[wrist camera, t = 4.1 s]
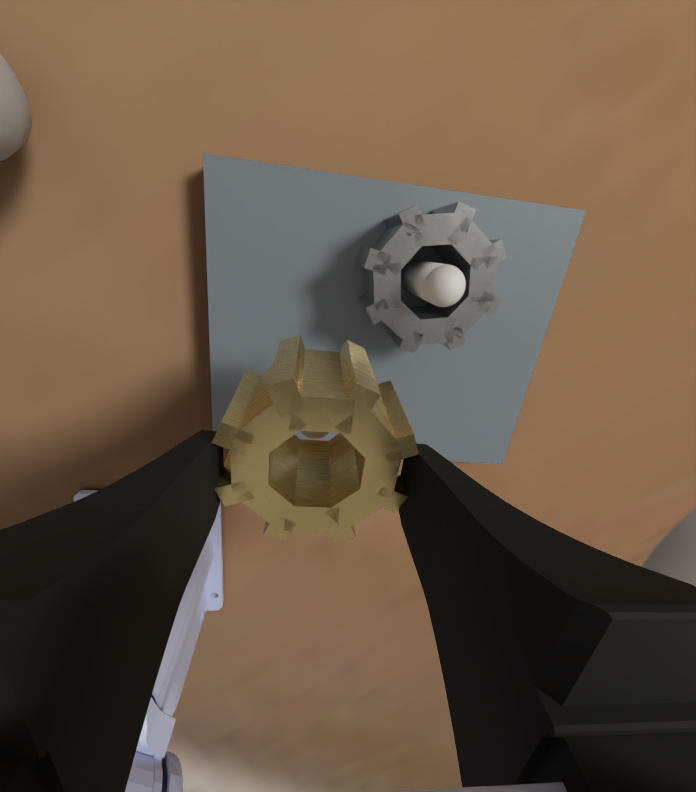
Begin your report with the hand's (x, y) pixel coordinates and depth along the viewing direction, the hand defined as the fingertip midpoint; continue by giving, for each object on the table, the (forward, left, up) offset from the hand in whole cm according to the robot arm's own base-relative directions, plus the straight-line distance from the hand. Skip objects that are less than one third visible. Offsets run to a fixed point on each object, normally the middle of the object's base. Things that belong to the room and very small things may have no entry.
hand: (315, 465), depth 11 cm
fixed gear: (+5, -4, -7) cm, 10 cm away
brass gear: (+1, 0, -2) cm, 3 cm away
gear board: (+2, -3, -9) cm, 9 cm away
